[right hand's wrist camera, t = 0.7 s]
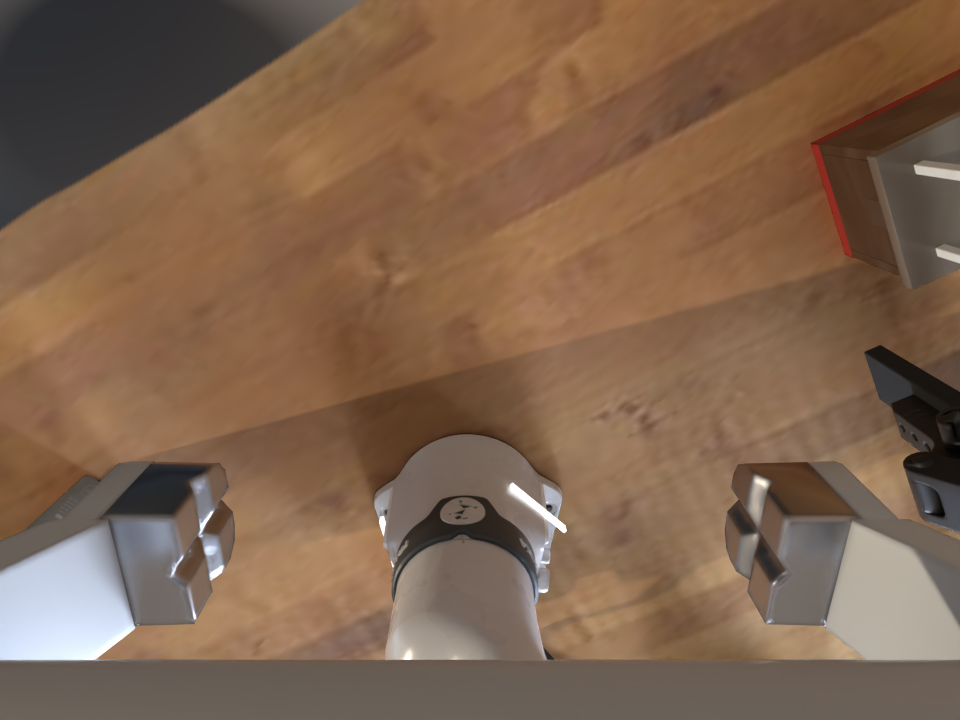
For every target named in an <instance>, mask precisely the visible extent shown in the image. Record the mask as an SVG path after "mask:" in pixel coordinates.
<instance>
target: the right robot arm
mask: <svg viewBox="0 0 960 720" xmlns="http://www.w3.org/2000/svg"><path fill="white" fill-rule="evenodd" d="M228 488H229V486H228V481H227V476H226V472H225V469H224V468H223V467H222V466H221V464H220V463H185V462H157V463H156V462H154V461H149V462H124V463H119V464H118V465H117V466H116V467H114V468H113V469H112V470H111V471H110V472H109V473H108V474H107V475H106V476H105V477H104V478H103V479H102V480H101V481H100V482H99V483H98V484H97V485H96V486H95V487H94V488H93V489H92V490H91V491H90V492H89V493H88V494H87V495H86V496H84V497H83V498H82V499H81V500H80V501H79V502H78V503H77V504H76V505H75V506H74V507H73V508H72V509H71V510H70V511H69V512H68V513H67V514H66V515H65V516H64V517H63V518H62V519H50V520H48V521H45V522H43V523H41V524H38V525H36V526H34V527H31V528H29V529H27V530H24V531H22V532H20V533H17V534H15V535H13V536H10V537H8V538H6V539H3V540H1V541H0V720H960V541H959V540H957V539H954V538H952V537H950V536H947V535H945V534H943V533H940V532H938V531H936V530H933V529H931V528H929V527H926V526H924V525H922V524H919V523H917V522H915V521H912V520H910V519H898V518H897V517H896V516H895V515H894V514H893V513H892V512H891V511H890V510H889V509H888V508H887V507H886V506H885V505H884V504H883V503H882V502H881V501H880V500H879V499H878V498H877V497H876V496H875V495H874V494H873V493H872V492H870V491H869V490H868V489H867V488H866V487H865V486H864V485H863V484H862V483H861V482H860V481H859V480H858V479H857V478H856V477H855V476H854V475H853V474H852V473H851V472H850V471H849V470H848V469H847V468H846V467H845V466H844V465H843V464H840V463H837V462H835V461H827V462H793V463H753V464H738V466H737V468H736V470H735V472H734V475H733V480H732V486H731V488H732V490H733V491H734V493H735V494H736V496H737V497H738V499H739V500H738V501H737V502H736V503H735V504H734V505H733V506H732V507H731V508H730V509H729V510H728V511H727V517H726V525H725V537H726V548H727V551H728V554H729V557H730V560H731V562H732V564H733V566H734V568H735V570H736V571H737V572H738V573H740V574H741V575H743V576H744V577H746V578H748V579H749V580H750V581H749V587H748V593H749V595H750V597H751V599H752V600H753V602H754V604H755V606H756V607H757V609H758V611H759V613H760V615H761V616H762V618H763V620H764V622H765V623H766V624H781V625H818V626H825V629H826V630H828V631H829V632H830V633H832V634H833V635H834V636H835V637H837V638H838V639H839V640H841V641H842V642H843V643H844V644H846V645H847V646H848V647H850V648H851V649H852V650H854V651H855V652H856V653H857V654H859V655H860V656H861V657H863V658H864V659H865V660H554V658H553V657H552V656H551V655H550V654H549V653H548V652H547V651H546V650H545V649H544V647H543V645H542V641H541V637H540V632H539V627H538V622H537V616H536V610H535V606H536V603H537V600H538V596H539V592H541V593H545V592H547V591H548V588H549V570H548V569H547V568H546V564H549V562H550V556H551V552H550V547H551V543H552V539H553V535H554V531H555V527H558V528H559V529H560V530H561V531H562V532H564V533H565V532H566V526H565V525H564V524H563V523H561V522H560V521H559V520H558V515H559V511H560V507H561V503H562V491H561V489H560V487H559V486H557V485H556V484H555V483H553V482H552V481H550V480H548V479H546V478H544V477H542V476H540V475H539V474H538V473H537V472H536V471H535V470H534V469H533V468H532V467H531V465H530V464H529V463H528V461H527V460H526V459H525V458H524V457H523V456H522V455H521V454H520V453H519V452H518V451H516V450H515V449H514V448H512V447H511V446H509V445H507V444H506V443H503V442H501V441H499V440H497V439H494V438H490V437H487V436H482V435H473V434H462V435H453V436H448V437H445V438H441V439H438V440H436V441H434V442H432V443H430V444H428V445H426V446H424V447H423V448H421V449H420V450H419V451H418V452H416V453H415V454H414V455H413V456H412V457H411V458H410V459H409V461H408V462H407V463H406V465H405V466H404V468H403V469H402V471H401V472H400V474H399V475H398V476H397V477H396V478H395V479H394V480H393V481H391V482H389V483H388V484H386V485H385V486H383V487H382V488H380V489H379V490H378V491H377V492H376V494H375V496H374V507H375V510H376V513H377V516H378V519H379V523H380V526H381V529H382V532H383V536H384V537H383V546H384V548H386V549H388V553H389V556H390V559H391V562H392V565H393V571H392V598H393V603H394V606H393V611H392V617H391V623H390V628H389V634H388V640H387V645H386V652H385V660H95V659H96V658H98V657H99V656H100V655H101V654H103V653H104V652H105V651H107V650H108V649H109V648H111V647H112V646H113V645H114V644H116V643H117V642H118V641H120V640H121V639H122V638H124V637H125V636H126V635H127V634H129V633H130V632H131V631H133V630H134V629H135V626H142V625H178V624H194V623H195V622H196V620H197V618H198V616H199V615H200V613H201V611H202V609H203V607H204V606H205V604H206V602H207V600H208V599H209V597H210V595H211V593H212V587H211V581H210V580H211V579H212V578H214V577H216V576H217V575H219V574H220V573H222V572H223V571H224V570H225V568H226V566H227V564H228V562H229V560H230V558H231V554H232V550H233V545H234V541H235V523H234V516H233V511H232V510H231V509H230V508H229V507H228V506H227V505H226V504H225V503H224V502H223V501H222V500H221V499H222V497H223V496H224V494H225V493H226V491H227V490H228ZM548 504H549V505H551V506H550V507H548V508H546V505H548ZM386 509H388V510H387V511H386Z"/></svg>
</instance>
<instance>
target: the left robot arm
mask: <svg viewBox="0 0 960 720" xmlns="http://www.w3.org/2000/svg"><path fill="white" fill-rule="evenodd" d="M864 353H865V356H866V359H867V362H868V365H869V368H870V371H871V374H872V377H873V380H874V383H875V386H876V389H877V392H878V395H879V398H880V399H881V400H882V401H883V402H885V403H886V404H888V405H889V406H890V407H892V409H893V412H894V415H895V418H896V421H897V424H898V427H899V430H900V433H901V436H902V438H903V439H905V440H906V441H907V442H908V443H910V444H911V445H912V446H914V447H915V448H917V450H919V451H920V452H917V453H914V454H911V455H909V456H908V457H906V458H905V460H904V461H903V466H904V469H905V472H906V475H907V478H908V481H909V484H910V487H911V490H912V493H913V496H914V499H915V502H916V505H917V508H918V511H919V514H920V516H921V517H922V519H923V520H925V521H927V522H929V523H932V524H935V525H938V526H940V527H943V528H946V529H949V530H952V531H955V532H957V533H960V392H958V391H957V390H955V389H953V388H952V387H950V386H948V385H947V384H945V383H943V382H942V381H940V380H938V379H937V378H935V377H933V376H932V375H930V374H928V373H926V372H925V371H923V370H921V369H920V368H918V367H916V366H915V365H913V364H911V363H910V362H908V361H906V360H905V359H903V358H901V357H900V356H898V355H896V354H894V353H893V352H891V351H889V350H888V349H886V348H884V347H883V346H881V345H879V346H877V347H875V348H872V349H870V350H868V351H866V352H864Z"/></svg>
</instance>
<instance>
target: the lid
mask: <svg viewBox="0 0 960 720" xmlns="http://www.w3.org/2000/svg"><path fill="white" fill-rule="evenodd" d="M867 160H868V163H869V167H870V170H871V174H872V177H873V181H874V184H875V188H876V191H877V195H878V198H879V202H880V205H881V209H882V212H883V216H884V219H885V223H886V226H887V230H888V233H889V237H890V240H891V244H892V247H893V251H894V255H895V258H896V262H897V265H898V269H899V272H900V276H901V279H902V283H903V286H904V287H906V288H909V289H911V290H913V289H915V288H918V287H920V286H922V285H924V284H927V283H929V282H931V281H933V280H936V279H938V278H940V277H942V276H945V275H947V274H949V273H951V272H954V271H956V270H958V269H960V111H959V112H957V113H955V114H952V115H950V116H948V117H946V118H944V119H942V120H940V121H938V122H936V123H934V124H932V125H930V126H928V127H926V128H924V129H922V130H920V131H918V132H915V133H913V134H911V135H909V136H907V137H905V138H903V139H901V140H899V141H897V142H895V143H893V144H891V145H889V146H887V147H885V148H883V149H881V150H878V151H876V152H874V153H872V154H870V155H868V156H867Z"/></svg>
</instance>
